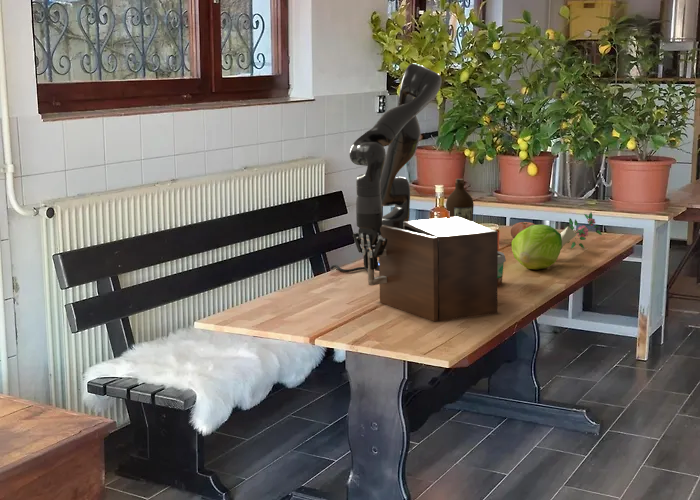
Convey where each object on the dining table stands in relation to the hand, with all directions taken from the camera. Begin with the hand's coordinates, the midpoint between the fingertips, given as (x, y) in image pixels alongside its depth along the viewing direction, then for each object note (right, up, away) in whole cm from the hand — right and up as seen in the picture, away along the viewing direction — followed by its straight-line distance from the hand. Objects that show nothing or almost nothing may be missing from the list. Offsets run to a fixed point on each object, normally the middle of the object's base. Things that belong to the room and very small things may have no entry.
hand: (370, 268), depth 274 cm
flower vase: (+74, +4, +69) cm, 101 cm away
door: (+8, -13, -4) cm, 16 cm away
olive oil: (+37, +8, +90) cm, 98 cm away
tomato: (+62, +8, +89) cm, 109 cm away
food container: (+41, -6, +25) cm, 48 cm away
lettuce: (+57, -1, +45) cm, 72 cm away
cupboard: (+23, -11, +2) cm, 26 cm away
